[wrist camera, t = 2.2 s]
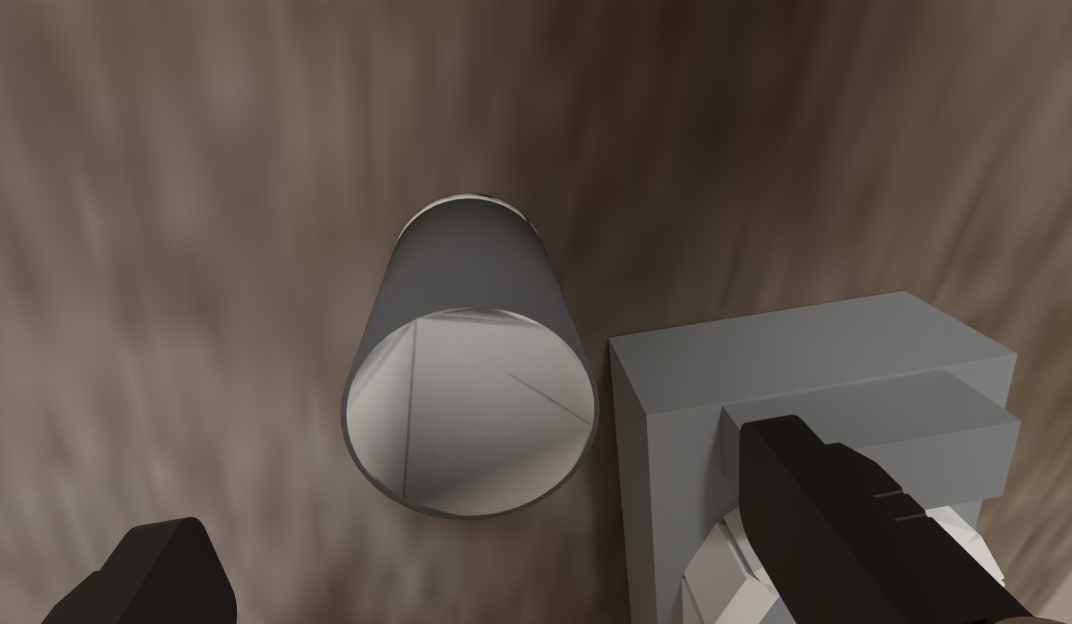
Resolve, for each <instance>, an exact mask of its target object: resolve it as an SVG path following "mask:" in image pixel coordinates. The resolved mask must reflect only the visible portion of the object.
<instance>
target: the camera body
mask: <svg viewBox="0 0 1072 624" xmlns="http://www.w3.org/2000/svg"><path fill="white" fill-rule="evenodd" d="M609 351H610V363H611V376H612V388H613V401H614V413H615V426H616V438H617V451H618V463H619V476H620V488H621V501H622V513H623V526H624V538H625V551H626V563H627V576H628V589H629V601H630V614H631V624H796V622H795V621H794V619H793V617H792V616H791V614H790V612H789V610H788V609H787V607H786V605H785V604H784V602H783V600H782V598H781V597H780V595H779V593H778V592H777V590H776V588H775V587H774V585H773V583H772V581H771V580H770V578H769V576H768V575H767V573H766V571H765V569H764V568H763V566H762V564H761V563H760V561H759V559H758V557H757V556H756V554H755V552H754V551H753V549H752V547H751V545H750V543H749V541H748V539H747V536H746V534H745V531H744V528H743V524H742V521H741V516H740V510H739V438H740V429H741V426H742V425H743V423H745V422H751V421H757V420H763V419H768V418H774V417H780V416H786V415H792V414H794V415H797V416H798V417H800V418H801V419H802V420H803V421H804V422H805V423H806V424H807V425H808V426H809V427H810V428H811V430H812V431H813V432H814V433H815V434H816V435H817V436H818V437H819V438H820V439H821V440H822V441H823V442H824V443H825V445H826V444H831V443H837V442H840V443H842V444H844V445H846V446H848V447H849V448H851V449H853V450H855V451H857V452H859V453H861V454H862V455H864V456H866V457H868V458H870V459H872V460H873V461H875V462H876V463H878V464H879V465H880V466H881V467H882V468H883V469H884V470H885V471H886V472H887V473H888V474H889V475H890V476H891V477H892V478H893V479H894V480H895V481H896V482H897V483H898V484H899V485H900V486H901V487H902V488H903V492H904V494H909V495H910V496H911V497H912V498H913V499H914V500H915V501H916V502H917V503H918V504H919V505H920V506H921V507H922V508H923V509H924V510H925V511H926V515H927V516H928V517H932V518H934V519H935V520H936V521H937V522H938V523H939V524H940V525H941V526H942V527H943V528H944V529H945V530H946V531H947V532H948V533H949V534H950V535H951V536H952V537H953V538H954V539H955V540H956V541H957V542H958V543H959V544H960V545H961V546H962V547H963V548H964V549H965V550H966V551H967V552H968V553H969V554H970V555H971V556H972V557H973V558H974V559H975V560H976V561H977V562H978V563H979V564H980V565H981V566H982V567H983V568H984V569H985V570H986V571H987V572H988V573H990V574H991V575H992V576H993V577H994V578H995V579H996V580H997V581H998V582H999V583H1000V584H1001V585H1002V586H1003V587H1004V585H1005V583H1004V582H1003V581H1002V579H1004V576H1003V575H1002V573H1001V571H1000V569H999V567H998V566H997V564H996V562H995V560H994V559H993V557H992V555H991V553H990V551H989V550H988V548H987V546H986V544H985V542H984V541H983V539H982V537H981V536H980V535H979V534H978V533H977V532H976V531H975V529H976V524H977V520H978V516H979V512H980V508H981V504H982V500H984V499H990V498H995V497H1001V496H1002V495H1003V491H1004V488H1005V484H1006V480H1007V476H1008V472H1009V468H1010V464H1011V460H1012V457H1013V453H1014V449H1015V445H1016V441H1017V437H1018V433H1019V429H1020V426H1021V422H1022V421H1021V420H1020V419H1018V418H1017V417H1015V416H1014V415H1012V414H1011V413H1009V412H1008V411H1006V410H1005V409H1004V408H1005V404H1006V400H1007V396H1008V392H1009V388H1010V384H1011V379H1012V375H1013V371H1014V367H1015V363H1016V359H1017V355H1018V354H1017V353H1015V352H1014V351H1012V350H1010V349H1008V348H1006V347H1005V346H1003V345H1001V344H999V343H997V342H996V341H994V340H992V339H990V338H988V337H987V336H985V335H983V334H981V333H979V332H978V331H976V330H974V329H972V328H970V327H969V326H967V325H965V324H963V323H961V322H959V321H958V320H956V319H954V318H952V317H950V316H949V315H947V314H945V313H943V312H941V311H940V310H938V309H936V308H934V307H932V306H931V305H929V304H927V303H925V302H923V301H922V300H920V299H918V298H916V297H914V296H913V295H911V294H909V293H907V292H905V291H900V292H893V293H887V294H881V295H874V296H868V297H862V298H855V299H849V300H843V301H836V302H830V303H824V304H817V305H811V306H805V307H799V308H792V309H786V310H780V311H773V312H767V313H761V314H754V315H748V316H742V317H735V318H729V319H723V320H716V321H710V322H704V323H697V324H691V325H685V326H679V327H672V328H666V329H660V330H653V331H647V332H641V333H634V334H628V335H622V336H615V337H609Z"/></svg>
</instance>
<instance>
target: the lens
mask: <svg viewBox="0 0 1072 624" xmlns="http://www.w3.org/2000/svg"><path fill="white" fill-rule="evenodd" d="M599 414H600V404H599V394H598V388H597V384H596V381H595V378H594V375H593V372H592V369H591V367H590V364H589V362H588V359H587V356H586V354H585V351H584V349H583V346H582V343H581V341H580V338H579V336H578V333H577V331H576V328H575V325H574V323H573V320H572V318H571V315H570V313H569V310H568V307H567V305H566V302H565V300H564V297H563V295H562V292H561V289H560V287H559V284H558V282H557V279H556V276H555V274H554V271H553V269H552V266H551V264H550V261H549V258H548V256H547V253H546V251H545V248H544V246H543V243H542V240H541V238H540V236H539V234H538V232H537V230H536V229H535V228H534V226H533V225H532V223H531V222H530V221H529V220H528V219H527V218H526V216H525V215H523V214H522V213H521V212H520V211H519V210H518V209H516V208H515V207H513V206H511V205H510V204H508V203H506V202H504V201H502V200H500V199H497V198H494V197H491V196H487V195H482V194H470V193H466V194H456V195H451V196H447V197H444V198H441V199H438V200H436V201H434V202H432V203H430V204H428V205H427V206H425V207H424V208H422V209H421V210H419V211H418V212H417V213H416V214H415V215H414V216H413V217H412V218H411V219H410V220H409V221H408V223H407V224H406V225H405V227H404V228H403V230H402V232H401V233H400V235H399V238H398V240H397V242H396V245H395V248H394V251H393V253H392V256H391V259H390V262H389V264H388V267H387V270H386V273H385V275H384V278H383V281H382V284H381V287H380V289H379V292H378V295H377V298H376V300H375V303H374V306H373V309H372V311H371V314H370V317H369V320H368V323H367V325H366V328H365V331H364V334H363V336H362V339H361V342H360V345H359V347H358V350H357V353H356V356H355V359H354V361H353V364H352V367H351V370H350V372H349V375H348V378H347V381H346V384H345V388H344V391H343V395H342V402H341V427H342V431H343V436H344V440H345V443H346V446H347V448H348V451H349V453H350V455H351V457H352V459H353V460H354V462H355V464H356V466H357V467H358V469H359V470H360V471H361V472H362V474H363V475H364V476H365V477H366V479H367V480H368V481H369V482H371V483H372V484H373V485H374V486H375V487H376V488H377V489H378V490H379V491H381V492H382V493H383V494H385V495H386V496H387V497H389V498H390V499H392V500H394V501H396V502H397V503H399V504H401V505H403V506H405V507H407V508H410V509H412V510H414V511H417V512H420V513H424V514H427V515H430V516H435V517H441V518H446V519H457V520H478V519H486V518H494V517H498V516H503V515H507V514H510V513H513V512H516V511H519V510H522V509H525V508H527V507H529V506H531V505H533V504H536V503H537V502H539V501H541V500H542V499H544V498H546V497H548V496H549V495H550V494H552V493H553V492H554V491H556V490H557V489H558V488H560V487H561V486H562V485H563V484H564V483H565V482H566V481H567V480H568V479H569V478H571V477H572V475H573V474H574V473H575V472H576V470H577V469H578V468H579V467H580V466H581V464H582V462H583V461H584V459H585V458H586V456H587V454H588V453H589V450H590V448H591V446H592V444H593V441H594V438H595V435H596V432H597V428H598V422H599Z"/></svg>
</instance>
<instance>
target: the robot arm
mask: <svg viewBox="0 0 1072 624" xmlns="http://www.w3.org/2000/svg"><path fill="white" fill-rule="evenodd" d="M739 510H740V516H741V521H742V524H743V528H744V531H745V534H746V536H747V539H748V541H749V543H750V545H751V547H752V549H753V551H754V552H755V554H756V556H757V557H758V559H759V561H760V563H761V564H762V566H763V568H764V569H765V571H766V573H767V575H768V576H769V578H770V580H771V581H772V583H773V585H774V587H775V588H776V590H777V592H778V593H779V595H780V597H781V598H782V600H783V602H784V604H785V605H786V607H787V609H788V610H789V612H790V614H791V616H792V617H793V619H794V621H795V622H796V624H1065V623H1062V622H1058V621H1054V620H1050V619H1044V618H1037V617H1034V616H1033V615H1032V614H1031V613H1030V612H1028V611H1027V610H1026V609H1025V608H1024V607H1023V606H1022V605H1021V604H1020V603H1019V602H1018V601H1017V600H1016V599H1015V598H1014V597H1013V596H1012V595H1011V594H1010V593H1009V592H1008V591H1007V590H1006V589H1005V588H1004V587H1003V586H1002V585H1001V584H1000V583H999V582H998V581H997V580H996V579H995V578H994V577H993V576H992V575H991V574H990V573H988V572H987V571H986V570H985V569H984V568H983V567H982V566H981V565H980V564H979V563H978V562H977V561H976V560H975V559H974V558H973V557H972V556H971V555H970V554H969V553H968V552H967V551H966V550H965V549H964V548H963V547H962V546H961V545H960V544H959V543H958V542H957V541H956V540H955V539H954V538H953V537H952V536H951V535H950V534H949V533H948V532H947V531H946V530H945V529H944V528H943V527H942V526H941V525H940V524H939V523H938V522H937V521H936V520H935V519H934V518H932V517H928V516H927V515H926V511H925V510H924V509H923V508H922V507H921V506H920V505H919V504H918V503H917V502H916V501H915V500H914V499H913V498H912V497H911V496H910V495H909V494H904V492H903V488H902V487H901V486H900V485H899V484H898V483H897V482H896V481H895V480H894V479H893V478H892V477H891V476H890V475H889V474H888V473H887V472H886V471H885V470H884V469H883V468H882V467H881V466H880V465H879V464H878V463H876V462H875V461H873V460H872V459H870V458H868V457H866V456H864V455H862V454H861V453H859V452H857V451H855V450H853V449H851V448H849V447H848V446H846V445H844V444H842V443H840V442H837V443H831V444H826V445H825V443H824V442H823V441H822V440H821V439H820V438H819V437H818V436H817V435H816V434H815V433H814V432H813V431H812V430H811V428H810V427H809V426H808V425H807V424H806V423H805V422H804V421H803V420H802V419H801V418H800V417H798V416H797V415H794V414H792V415H786V416H780V417H774V418H768V419H763V420H757V421H751V422H745V423H743V425H742V426H741V429H740V438H739ZM236 622H237V604H236V598H235V594H234V592H233V589H232V587H231V585H230V582H229V580H228V578H227V576H226V574H225V571H224V569H223V567H222V565H221V563H220V560H219V558H218V556H217V554H216V552H215V549H214V547H213V545H212V543H211V541H210V538H209V536H208V534H207V532H206V530H205V528H204V526H203V524H202V523H201V522H200V521H199V520H198V519H197V518H194V517H187V518H181V519H175V520H169V521H164V522H158V523H152V524H146V525H141V526H136V527H134V528H132V529H131V530H130V531H128V532H127V534H126V535H125V536H124V537H123V539H122V540H121V541H120V543H119V544H118V546H117V547H116V548H115V550H114V551H113V553H112V554H111V555H110V557H109V558H108V560H107V561H106V562H105V564H104V565H103V567H102V568H101V569H100V571H94V572H93V573H92V574H90V575H89V576H88V577H87V578H86V579H85V580H84V581H82V582H81V583H80V584H79V585H78V586H77V587H76V588H74V589H73V590H72V591H71V592H70V593H69V594H68V595H66V596H65V597H64V598H63V599H62V600H61V601H60V602H58V603H57V604H56V605H55V606H54V607H53V609H52V610H51V611H50V613H49V614H48V615H47V617H46V618H45V619H44V620H43V622H42V623H41V624H236Z"/></svg>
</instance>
